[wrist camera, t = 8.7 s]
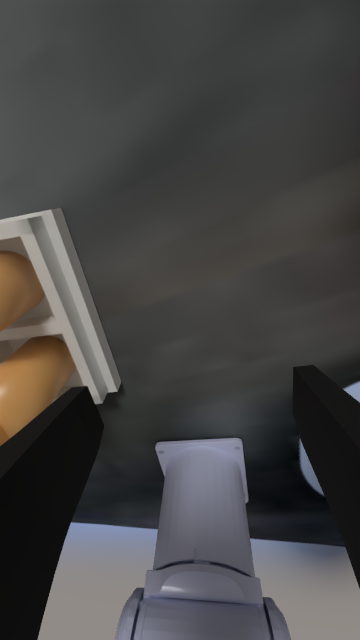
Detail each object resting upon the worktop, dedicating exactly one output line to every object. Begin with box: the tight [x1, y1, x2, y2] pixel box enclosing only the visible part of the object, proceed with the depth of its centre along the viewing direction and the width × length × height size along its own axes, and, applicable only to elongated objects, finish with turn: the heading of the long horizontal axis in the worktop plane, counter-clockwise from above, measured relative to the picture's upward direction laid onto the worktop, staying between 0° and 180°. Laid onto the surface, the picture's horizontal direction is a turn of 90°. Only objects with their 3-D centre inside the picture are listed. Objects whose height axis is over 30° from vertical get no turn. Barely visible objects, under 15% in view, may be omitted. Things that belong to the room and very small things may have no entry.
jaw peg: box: [0, 335, 76, 446], centre depth 16 cm, size 5×4×7 cm
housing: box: [0, 208, 121, 404], centre depth 17 cm, size 14×8×7 cm, turn 10°
